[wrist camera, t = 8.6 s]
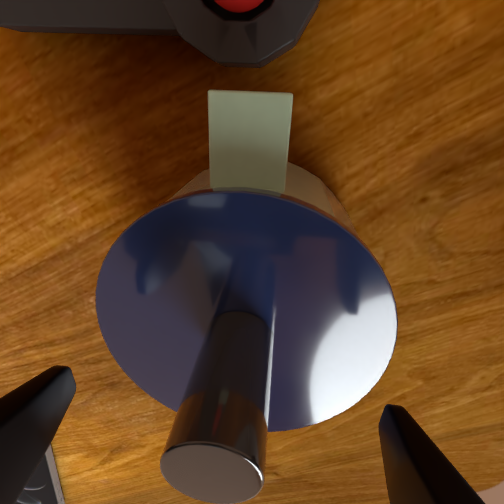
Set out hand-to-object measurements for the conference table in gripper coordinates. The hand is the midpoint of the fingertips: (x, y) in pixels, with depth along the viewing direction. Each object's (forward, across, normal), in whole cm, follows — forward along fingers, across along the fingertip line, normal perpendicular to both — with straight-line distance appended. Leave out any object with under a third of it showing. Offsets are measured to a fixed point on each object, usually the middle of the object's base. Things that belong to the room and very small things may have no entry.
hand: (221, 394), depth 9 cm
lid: (+3, 0, 0) cm, 3 cm away
